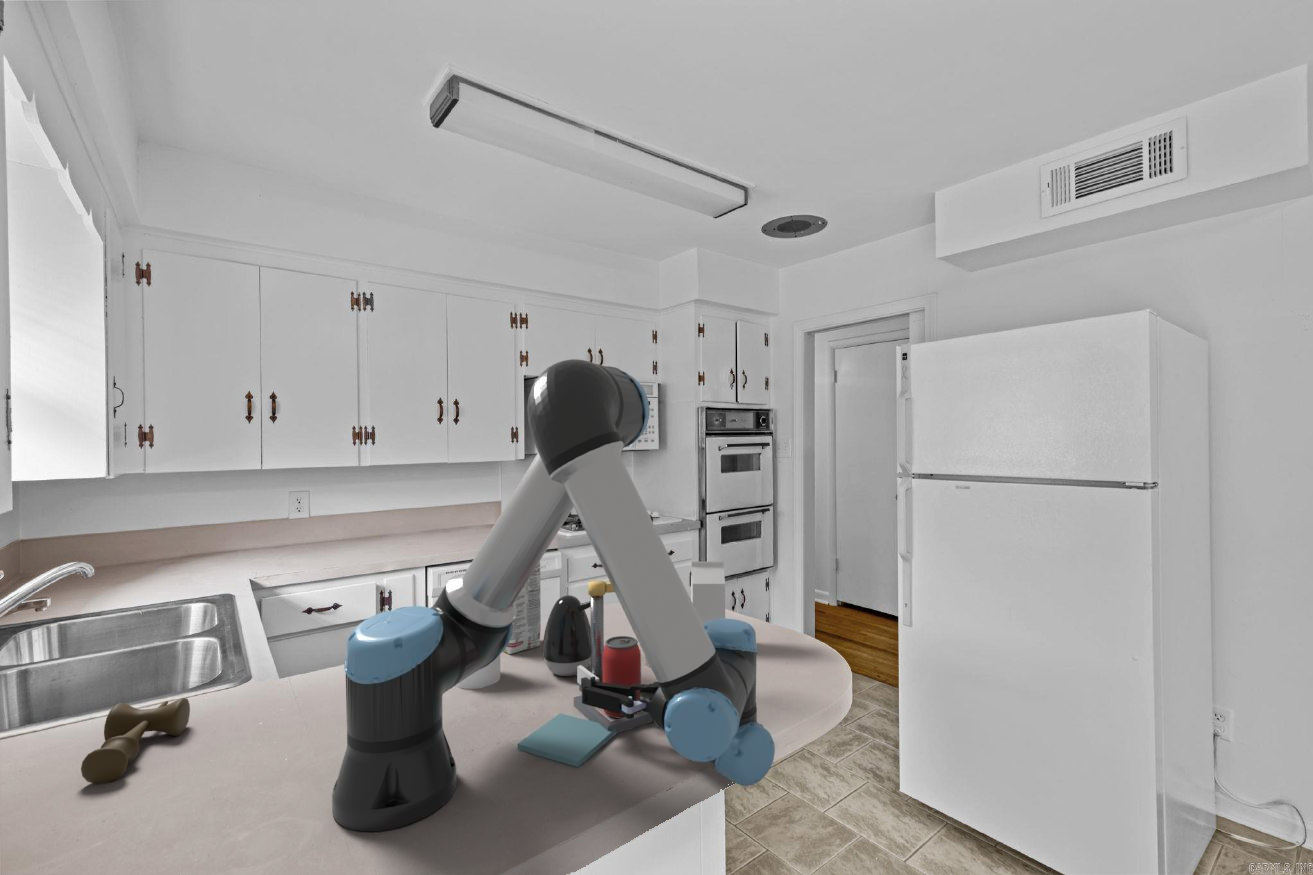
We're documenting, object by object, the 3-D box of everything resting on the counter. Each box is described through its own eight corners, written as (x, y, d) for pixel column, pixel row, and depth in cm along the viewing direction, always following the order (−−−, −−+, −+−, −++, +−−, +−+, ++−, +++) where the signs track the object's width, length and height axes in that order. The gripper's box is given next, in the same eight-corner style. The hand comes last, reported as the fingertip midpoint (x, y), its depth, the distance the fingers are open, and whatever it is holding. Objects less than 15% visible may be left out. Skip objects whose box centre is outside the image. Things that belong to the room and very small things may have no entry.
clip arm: (668, 596, 117) (668, 575, 117) (673, 601, 114) (673, 578, 113) (586, 603, 112) (586, 581, 112) (590, 608, 109) (589, 585, 109)
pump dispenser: (585, 683, 115) (585, 604, 114) (534, 679, 117) (533, 601, 116) (601, 663, 125) (600, 590, 124) (553, 659, 127) (553, 587, 126)
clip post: (615, 693, 110) (615, 596, 110) (591, 699, 108) (591, 601, 107) (602, 683, 115) (602, 590, 114) (579, 689, 112) (578, 594, 112)
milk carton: (725, 652, 130) (725, 565, 130) (692, 652, 131) (692, 565, 130) (722, 640, 138) (722, 558, 137) (691, 640, 138) (690, 558, 137)
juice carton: (526, 637, 140) (526, 534, 140) (545, 646, 134) (544, 539, 134) (489, 647, 134) (488, 540, 133) (507, 657, 128) (506, 545, 128)
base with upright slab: (498, 667, 123) (498, 608, 123) (502, 685, 114) (501, 622, 114) (452, 673, 120) (451, 613, 120) (452, 691, 111) (451, 627, 111)
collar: (672, 715, 102) (672, 706, 102) (607, 735, 95) (607, 726, 95) (633, 688, 112) (633, 680, 112) (573, 705, 105) (573, 697, 105)
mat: (578, 767, 86) (578, 761, 86) (517, 749, 91) (517, 743, 91) (616, 732, 96) (616, 727, 96) (560, 717, 101) (560, 713, 101)
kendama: (57, 795, 81) (131, 723, 100) (144, 784, 84) (200, 715, 103) (57, 752, 81) (132, 687, 100) (144, 742, 84) (201, 681, 103)
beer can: (648, 707, 105) (648, 639, 104) (626, 723, 99) (626, 651, 99) (617, 698, 108) (617, 632, 108) (594, 713, 103) (594, 643, 102)
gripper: (610, 763, 81) (548, 703, 99) (749, 715, 95) (672, 670, 113) (610, 708, 81) (548, 658, 99) (748, 668, 95) (672, 630, 113)
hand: (614, 664), depth 106 cm, fingers open, 13 cm apart
